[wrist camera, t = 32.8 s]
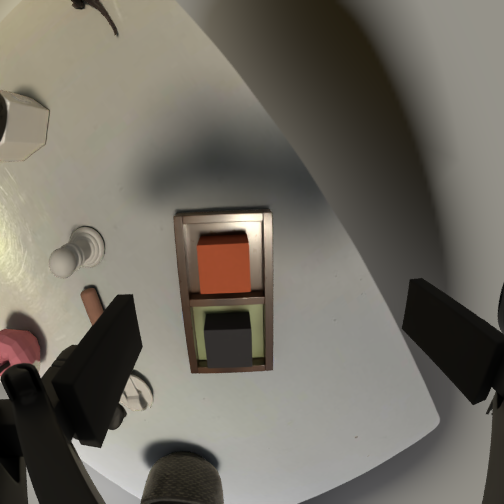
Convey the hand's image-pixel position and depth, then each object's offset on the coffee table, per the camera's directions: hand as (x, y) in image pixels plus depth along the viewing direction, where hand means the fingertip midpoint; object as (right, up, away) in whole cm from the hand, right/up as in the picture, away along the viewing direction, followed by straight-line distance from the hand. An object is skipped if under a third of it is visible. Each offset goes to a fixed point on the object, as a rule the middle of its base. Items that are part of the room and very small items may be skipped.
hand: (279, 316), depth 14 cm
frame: (-4, -2, +26) cm, 26 cm away
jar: (-32, +20, +18) cm, 42 cm away
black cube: (-4, -7, +27) cm, 28 cm away
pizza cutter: (-21, -12, +28) cm, 37 cm away
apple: (-37, -11, +26) cm, 47 cm away
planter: (-13, -37, +35) cm, 52 cm away
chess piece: (-22, +4, +23) cm, 33 cm away
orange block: (-4, +2, +24) cm, 25 cm away
